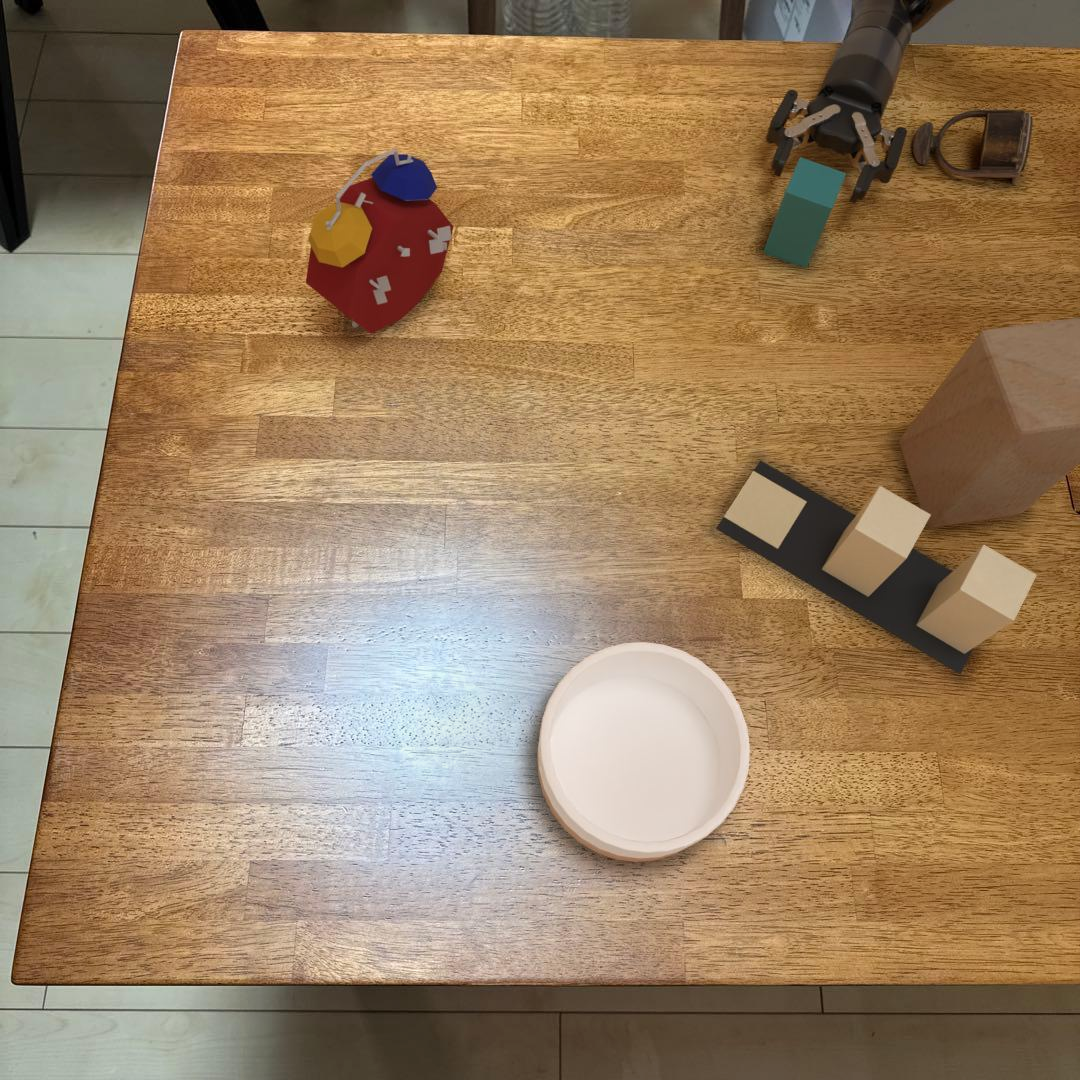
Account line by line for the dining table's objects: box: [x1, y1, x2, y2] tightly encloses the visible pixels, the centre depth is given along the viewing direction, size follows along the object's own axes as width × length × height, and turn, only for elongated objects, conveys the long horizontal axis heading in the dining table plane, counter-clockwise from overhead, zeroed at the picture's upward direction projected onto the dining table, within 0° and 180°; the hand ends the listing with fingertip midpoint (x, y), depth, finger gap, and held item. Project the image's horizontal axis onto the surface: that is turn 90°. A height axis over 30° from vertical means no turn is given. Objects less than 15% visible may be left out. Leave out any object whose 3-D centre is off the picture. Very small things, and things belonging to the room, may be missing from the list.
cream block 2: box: [916, 544, 1037, 654], centre depth 91 cm, size 5×5×10 cm
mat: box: [715, 460, 975, 675], centre depth 98 cm, size 26×9×1 cm, turn 57°
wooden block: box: [898, 317, 1080, 528], centre depth 93 cm, size 10×10×20 cm
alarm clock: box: [305, 147, 454, 335], centre depth 99 cm, size 15×9×20 cm, turn 139°
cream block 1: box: [822, 485, 931, 597], centre depth 93 cm, size 5×5×10 cm
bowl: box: [536, 641, 751, 863], centre depth 86 cm, size 17×17×8 cm
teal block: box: [762, 157, 847, 269], centre depth 108 cm, size 5×5×10 cm
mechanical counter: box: [912, 109, 1034, 186], centre depth 115 cm, size 7×13×10 cm
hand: (816, 184), depth 108 cm, fingers open, 8 cm apart
